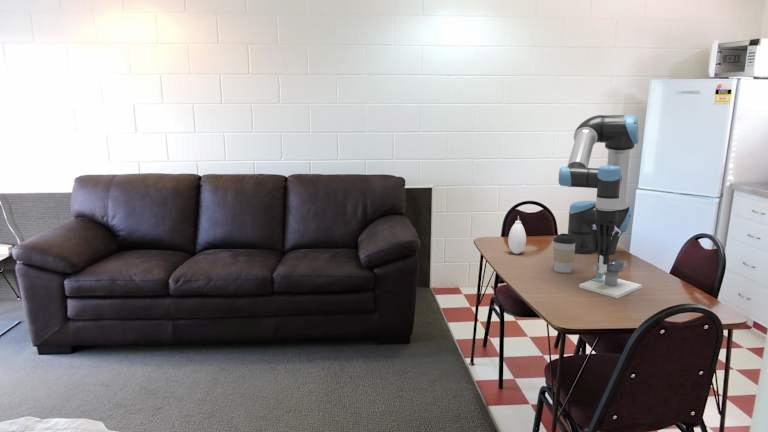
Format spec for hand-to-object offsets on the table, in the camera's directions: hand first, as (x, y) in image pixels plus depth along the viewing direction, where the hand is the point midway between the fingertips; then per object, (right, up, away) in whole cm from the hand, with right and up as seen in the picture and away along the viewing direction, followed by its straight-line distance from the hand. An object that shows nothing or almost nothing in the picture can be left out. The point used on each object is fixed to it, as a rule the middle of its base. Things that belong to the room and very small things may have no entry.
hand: (602, 272), depth 194 cm
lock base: (+5, -6, +5) cm, 10 cm away
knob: (+4, +1, +4) cm, 5 cm away
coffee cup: (-6, -2, +26) cm, 27 cm away
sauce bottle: (-19, +3, +51) cm, 55 cm away
